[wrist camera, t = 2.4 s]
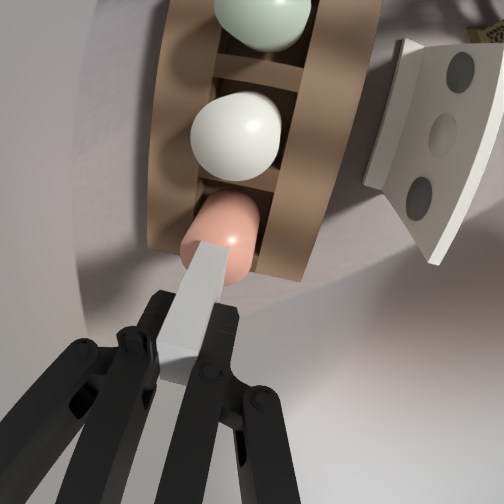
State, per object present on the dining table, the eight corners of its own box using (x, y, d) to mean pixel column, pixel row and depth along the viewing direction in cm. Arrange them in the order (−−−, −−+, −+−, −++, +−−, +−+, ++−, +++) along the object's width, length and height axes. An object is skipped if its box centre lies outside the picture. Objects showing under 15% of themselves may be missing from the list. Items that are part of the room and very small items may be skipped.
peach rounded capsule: (205, 183, 19) (182, 218, 15) (265, 195, 19) (258, 234, 15) (199, 234, 21) (178, 277, 17) (253, 245, 21) (244, 292, 17)
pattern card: (402, 38, 15) (479, 24, 6) (447, 61, 15) (535, 69, 6) (361, 182, 21) (402, 255, 13) (404, 196, 21) (459, 271, 13)
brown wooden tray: (198, -24, 14) (180, -40, 10) (367, 6, 14) (384, -6, 10) (164, 223, 25) (147, 247, 22) (299, 252, 26) (300, 282, 22)
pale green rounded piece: (240, -11, 12) (223, -39, 8) (310, 0, 12) (318, -26, 8) (228, 47, 14) (206, 37, 10) (296, 59, 14) (300, 51, 10)
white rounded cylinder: (220, 85, 15) (196, 89, 11) (288, 98, 15) (288, 105, 11) (210, 147, 18) (185, 172, 14) (273, 159, 18) (269, 189, 14)
